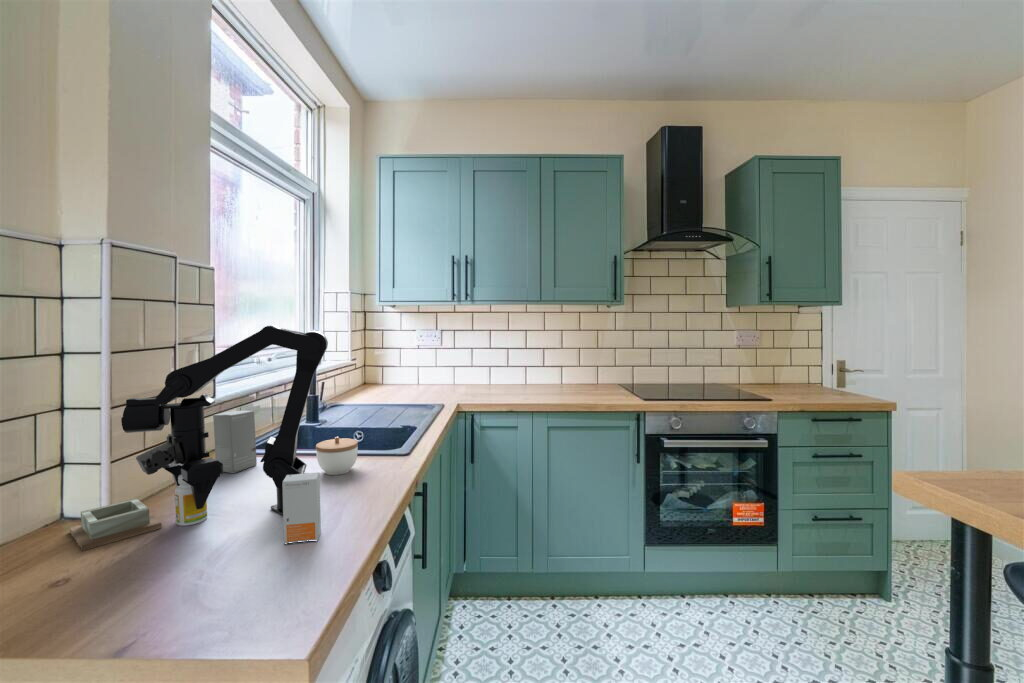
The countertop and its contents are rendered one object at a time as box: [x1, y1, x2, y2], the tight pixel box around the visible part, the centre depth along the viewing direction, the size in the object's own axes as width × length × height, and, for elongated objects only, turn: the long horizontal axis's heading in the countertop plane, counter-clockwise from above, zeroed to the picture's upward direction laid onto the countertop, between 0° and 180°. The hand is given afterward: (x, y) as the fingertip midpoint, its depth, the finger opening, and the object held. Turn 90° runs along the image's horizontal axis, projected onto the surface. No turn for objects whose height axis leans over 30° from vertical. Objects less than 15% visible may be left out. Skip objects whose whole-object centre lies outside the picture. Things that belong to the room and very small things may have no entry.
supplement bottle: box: [174, 474, 208, 527], centre depth 99 cm, size 5×5×10 cm
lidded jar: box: [315, 436, 359, 476], centre depth 130 cm, size 11×11×9 cm
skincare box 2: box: [282, 471, 322, 544], centre depth 91 cm, size 6×4×12 cm
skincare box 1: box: [212, 410, 258, 474], centre depth 134 cm, size 8×7×16 cm
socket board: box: [69, 498, 163, 551], centre depth 95 cm, size 12×12×4 cm
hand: (191, 503), depth 99 cm, fingers open, 9 cm apart
